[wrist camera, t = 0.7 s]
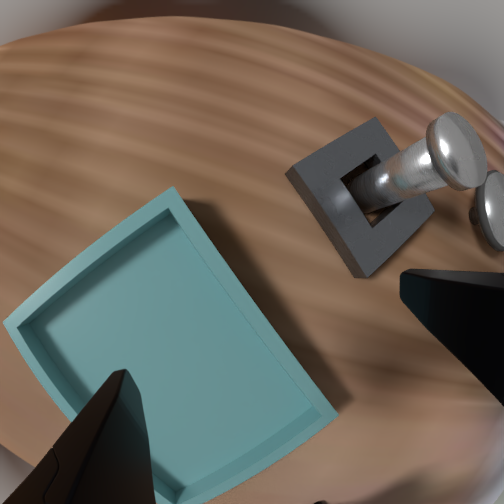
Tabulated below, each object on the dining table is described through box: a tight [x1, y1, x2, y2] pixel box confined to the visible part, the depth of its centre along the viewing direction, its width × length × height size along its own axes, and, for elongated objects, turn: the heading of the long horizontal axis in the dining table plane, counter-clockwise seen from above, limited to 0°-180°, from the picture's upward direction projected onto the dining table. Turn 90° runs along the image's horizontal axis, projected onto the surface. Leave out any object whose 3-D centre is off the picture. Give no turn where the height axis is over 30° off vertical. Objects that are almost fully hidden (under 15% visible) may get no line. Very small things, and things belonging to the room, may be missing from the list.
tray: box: [3, 186, 339, 504], centre depth 19 cm, size 20×16×3 cm
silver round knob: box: [469, 170, 504, 251], centre depth 25 cm, size 9×9×5 cm
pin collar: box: [285, 117, 435, 278], centre depth 23 cm, size 10×10×2 cm
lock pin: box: [347, 112, 487, 213], centre depth 18 cm, size 4×4×12 cm
